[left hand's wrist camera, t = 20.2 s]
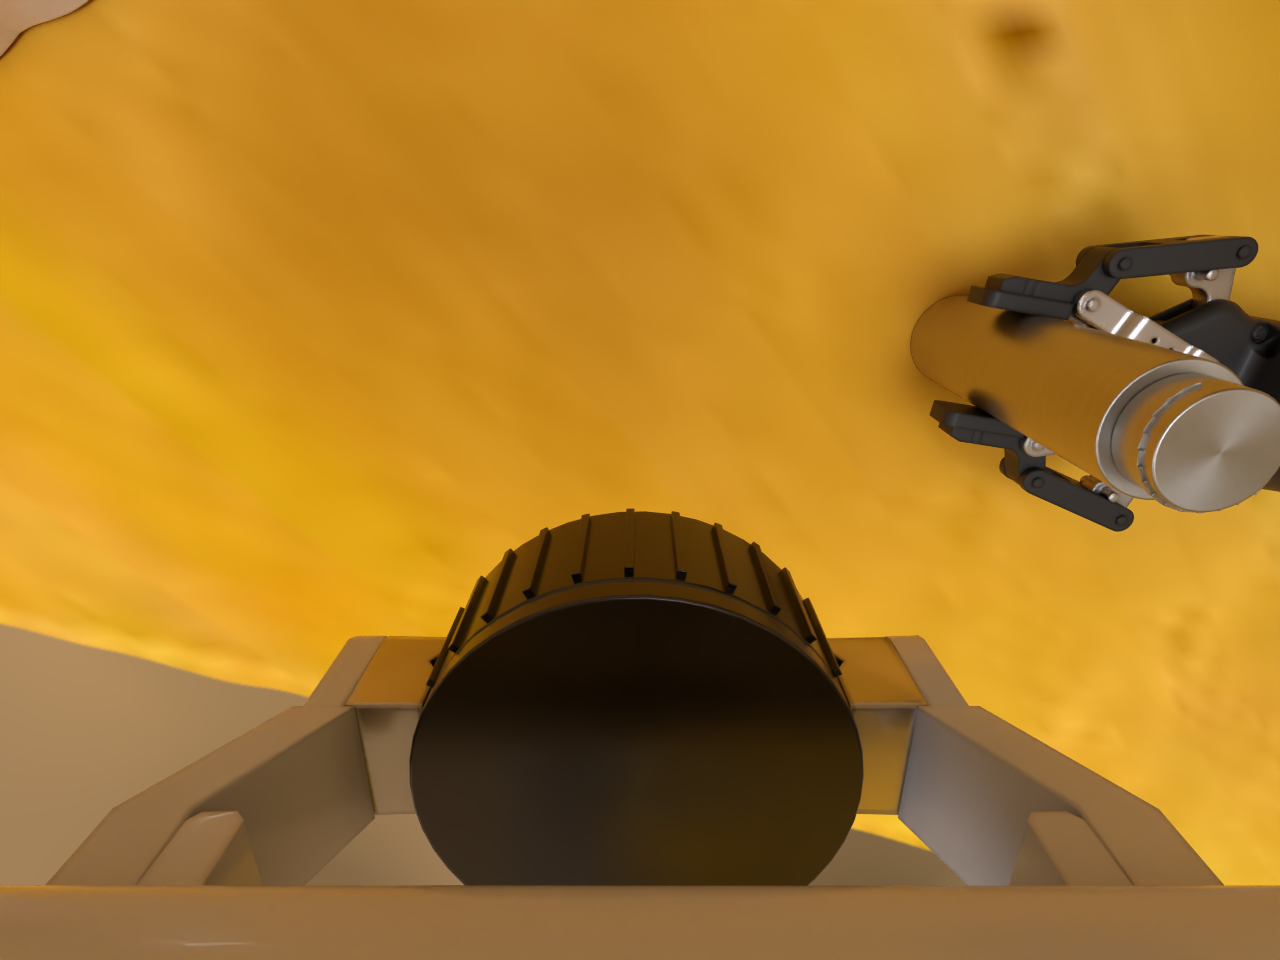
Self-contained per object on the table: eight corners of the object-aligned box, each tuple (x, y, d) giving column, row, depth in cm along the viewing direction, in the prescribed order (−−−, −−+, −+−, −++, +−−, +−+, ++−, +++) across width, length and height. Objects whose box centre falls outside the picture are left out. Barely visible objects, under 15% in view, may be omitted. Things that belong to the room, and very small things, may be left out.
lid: (902, 626, 10) (971, 735, 8) (688, 862, 12) (698, 1002, 10) (570, 429, 9) (549, 497, 7) (387, 721, 11) (326, 846, 9)
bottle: (891, 350, 38) (1102, 472, 20) (952, 276, 36) (1235, 339, 19) (955, 398, 39) (1208, 553, 21) (1017, 328, 37) (1342, 433, 20)
